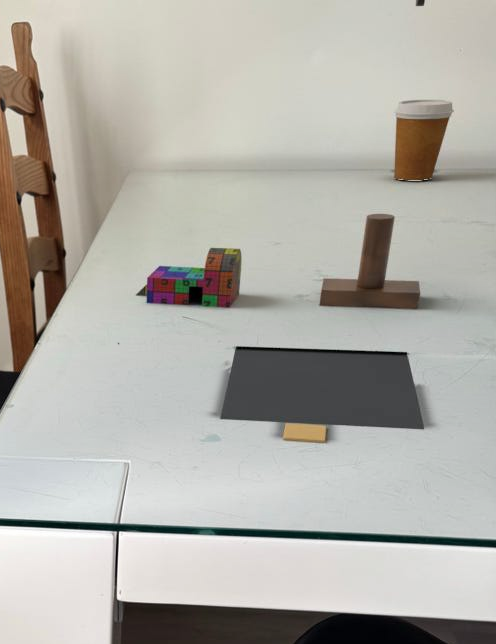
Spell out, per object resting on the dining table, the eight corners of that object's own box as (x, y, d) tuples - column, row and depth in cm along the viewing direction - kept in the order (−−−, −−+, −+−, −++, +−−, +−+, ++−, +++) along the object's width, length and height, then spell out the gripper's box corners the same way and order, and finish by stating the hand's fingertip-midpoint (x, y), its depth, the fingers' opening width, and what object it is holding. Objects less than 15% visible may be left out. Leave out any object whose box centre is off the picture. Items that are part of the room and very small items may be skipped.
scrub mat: (404, 358, 97) (406, 347, 96) (422, 440, 80) (424, 428, 79) (235, 352, 100) (236, 342, 100) (218, 430, 83) (219, 418, 83)
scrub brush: (414, 309, 110) (430, 212, 105) (415, 321, 106) (432, 221, 101) (320, 305, 113) (331, 210, 107) (317, 318, 109) (329, 220, 103)
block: (242, 300, 116) (247, 238, 112) (228, 319, 110) (233, 255, 106) (141, 294, 120) (143, 234, 116) (123, 313, 113) (124, 250, 110)
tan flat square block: (324, 439, 81) (326, 425, 80) (323, 454, 78) (325, 440, 78) (284, 436, 82) (285, 422, 81) (281, 451, 79) (283, 437, 78)
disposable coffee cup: (414, 185, 171) (427, 106, 165) (372, 178, 178) (383, 102, 172) (453, 179, 175) (467, 101, 168) (411, 172, 182) (423, 98, 176)
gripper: (422, -198, 93) (392, 8, 102) (590, -212, 89) (545, 2, 98) (415, -188, 99) (388, 6, 108) (573, -201, 95) (532, 0, 104)
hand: (463, 4), depth 103 cm, fingers open, 8 cm apart
